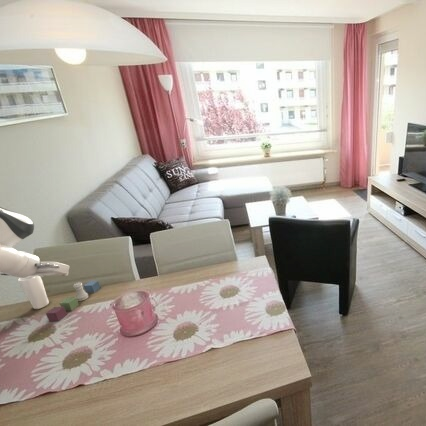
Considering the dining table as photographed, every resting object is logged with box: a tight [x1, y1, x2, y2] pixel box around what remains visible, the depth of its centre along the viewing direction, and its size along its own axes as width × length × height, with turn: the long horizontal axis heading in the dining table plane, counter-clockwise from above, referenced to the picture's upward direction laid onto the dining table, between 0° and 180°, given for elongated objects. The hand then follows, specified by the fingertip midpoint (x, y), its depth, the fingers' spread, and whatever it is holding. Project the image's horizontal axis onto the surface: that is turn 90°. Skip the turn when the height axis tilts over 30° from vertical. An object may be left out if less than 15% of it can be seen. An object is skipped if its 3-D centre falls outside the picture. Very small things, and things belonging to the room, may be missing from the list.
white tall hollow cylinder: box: [17, 276, 50, 310], centre depth 127 cm, size 7×7×15 cm
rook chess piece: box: [73, 281, 90, 302], centre depth 131 cm, size 4×4×8 cm
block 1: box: [45, 306, 68, 322], centre depth 120 cm, size 4×4×4 cm
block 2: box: [59, 296, 80, 312], centre depth 126 cm, size 4×4×4 cm
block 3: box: [83, 280, 101, 294], centre depth 138 cm, size 4×4×4 cm
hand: (55, 274), depth 120 cm, fingers open, 8 cm apart
